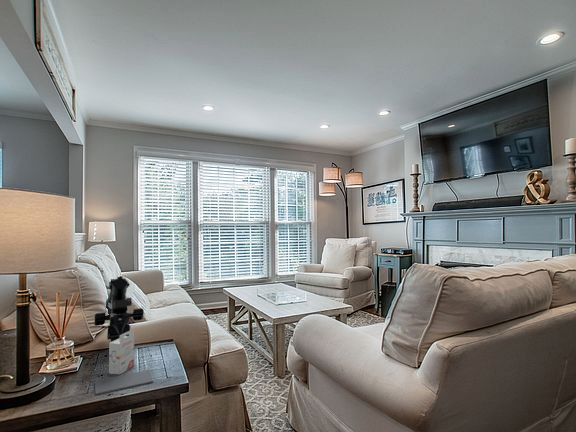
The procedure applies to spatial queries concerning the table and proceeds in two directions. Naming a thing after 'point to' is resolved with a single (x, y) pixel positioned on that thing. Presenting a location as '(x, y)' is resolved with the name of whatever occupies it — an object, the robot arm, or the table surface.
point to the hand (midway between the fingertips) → (120, 334)
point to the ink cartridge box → (121, 353)
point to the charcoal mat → (122, 382)
